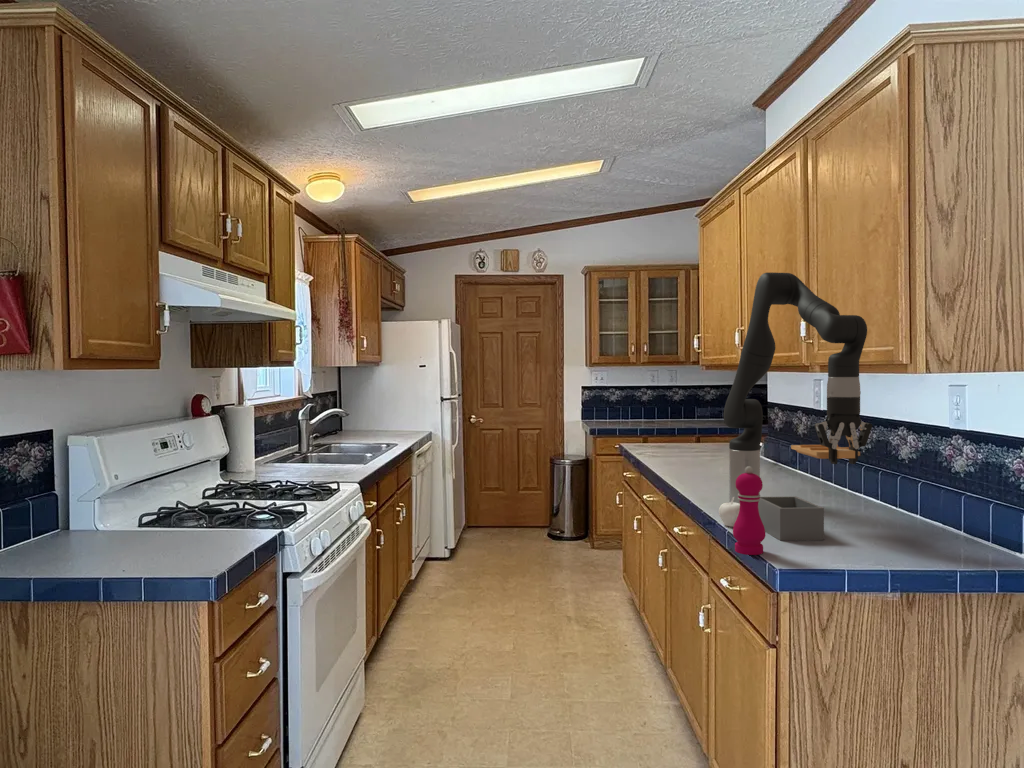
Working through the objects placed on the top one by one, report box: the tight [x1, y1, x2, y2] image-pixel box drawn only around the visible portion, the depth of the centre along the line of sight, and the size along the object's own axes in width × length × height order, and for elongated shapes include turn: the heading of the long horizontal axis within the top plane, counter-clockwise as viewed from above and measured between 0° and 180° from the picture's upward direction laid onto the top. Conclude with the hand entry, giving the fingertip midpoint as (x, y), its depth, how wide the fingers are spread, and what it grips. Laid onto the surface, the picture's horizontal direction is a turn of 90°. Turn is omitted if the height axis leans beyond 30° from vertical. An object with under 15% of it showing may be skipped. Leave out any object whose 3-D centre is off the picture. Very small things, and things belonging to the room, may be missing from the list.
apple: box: [718, 497, 740, 528], centre depth 187 cm, size 7×7×8 cm
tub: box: [758, 495, 825, 541], centre depth 178 cm, size 16×11×8 cm
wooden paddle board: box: [790, 444, 861, 460], centre depth 180 cm, size 20×11×3 cm, turn 0°
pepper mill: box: [732, 466, 766, 556], centre depth 160 cm, size 7×7×20 cm
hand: (843, 463), depth 171 cm, fingers closed on wooden paddle board, 4 cm apart
